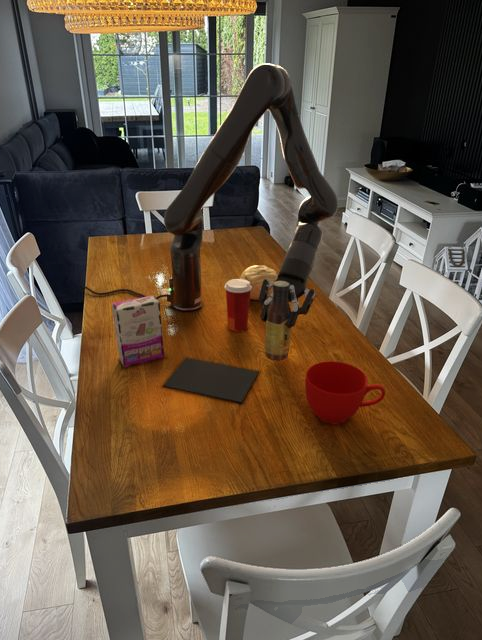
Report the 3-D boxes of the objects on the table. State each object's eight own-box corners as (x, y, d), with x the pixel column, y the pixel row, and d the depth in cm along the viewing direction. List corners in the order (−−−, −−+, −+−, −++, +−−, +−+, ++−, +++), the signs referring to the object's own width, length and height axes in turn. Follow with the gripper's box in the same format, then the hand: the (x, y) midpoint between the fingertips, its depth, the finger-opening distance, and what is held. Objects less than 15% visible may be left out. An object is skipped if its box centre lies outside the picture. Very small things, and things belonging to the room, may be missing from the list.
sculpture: (249, 305, 158) (250, 274, 153) (234, 292, 168) (234, 262, 162) (280, 300, 162) (282, 269, 157) (263, 287, 172) (265, 257, 166)
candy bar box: (158, 349, 133) (154, 294, 125) (164, 358, 129) (161, 301, 121) (118, 359, 128) (110, 302, 120) (123, 368, 125) (116, 310, 116)
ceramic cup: (382, 439, 101) (390, 399, 96) (300, 429, 104) (304, 390, 99) (377, 402, 112) (384, 365, 107) (303, 394, 115) (307, 358, 110)
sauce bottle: (287, 363, 123) (293, 290, 113) (262, 360, 124) (266, 288, 114) (289, 350, 129) (295, 280, 119) (266, 347, 130) (270, 277, 120)
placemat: (162, 386, 117) (162, 385, 117) (186, 358, 129) (185, 357, 129) (241, 403, 112) (241, 402, 112) (258, 372, 123) (258, 371, 123)
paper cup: (253, 323, 147) (255, 280, 140) (246, 334, 141) (247, 289, 134) (229, 319, 149) (229, 276, 142) (220, 330, 143) (220, 286, 136)
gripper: (268, 251, 123) (245, 311, 120) (322, 261, 117) (300, 325, 114) (275, 265, 130) (254, 322, 127) (327, 275, 124) (306, 336, 121)
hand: (276, 323), depth 120 cm, fingers closed on sauce bottle, 6 cm apart
